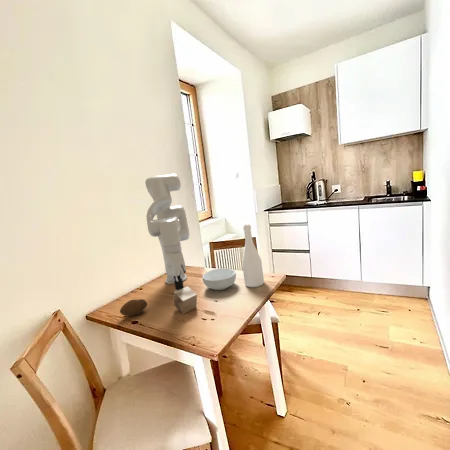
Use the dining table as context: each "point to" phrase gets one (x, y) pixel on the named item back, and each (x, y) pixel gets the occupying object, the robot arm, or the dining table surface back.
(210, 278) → the cereal bowl
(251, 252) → the wine bottle
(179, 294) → the cube
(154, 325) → the dining table surface
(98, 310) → the dining table surface
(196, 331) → the dining table surface
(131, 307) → the potato
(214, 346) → the dining table surface
